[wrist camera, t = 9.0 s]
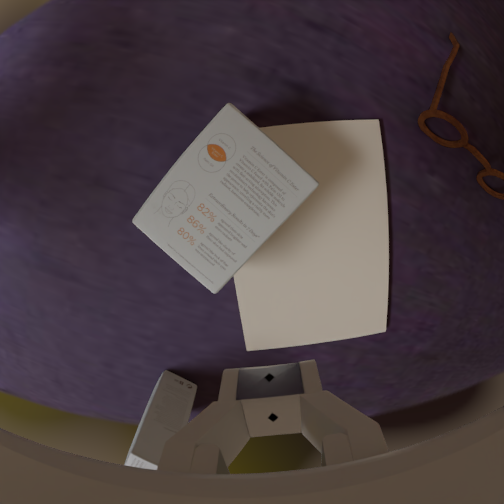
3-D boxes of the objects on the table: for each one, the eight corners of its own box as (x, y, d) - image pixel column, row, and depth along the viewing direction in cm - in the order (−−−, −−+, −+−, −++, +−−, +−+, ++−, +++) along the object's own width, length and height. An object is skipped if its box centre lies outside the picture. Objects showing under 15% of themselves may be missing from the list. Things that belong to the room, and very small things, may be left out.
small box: (224, 270, 26) (311, 180, 24) (214, 297, 21) (323, 184, 18) (155, 208, 25) (237, 113, 22) (128, 221, 20) (229, 99, 17)
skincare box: (164, 367, 30) (126, 450, 19) (200, 385, 31) (176, 472, 19) (149, 398, 32) (115, 474, 20) (182, 414, 32) (158, 492, 21)
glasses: (407, 121, 23) (433, 115, 18) (447, 33, 19) (472, 18, 14) (491, 199, 24) (521, 207, 19) (523, 111, 21) (550, 109, 16)
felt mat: (247, 347, 29) (246, 350, 28) (212, 135, 24) (211, 135, 23) (383, 328, 28) (385, 331, 27) (376, 120, 22) (378, 119, 22)
